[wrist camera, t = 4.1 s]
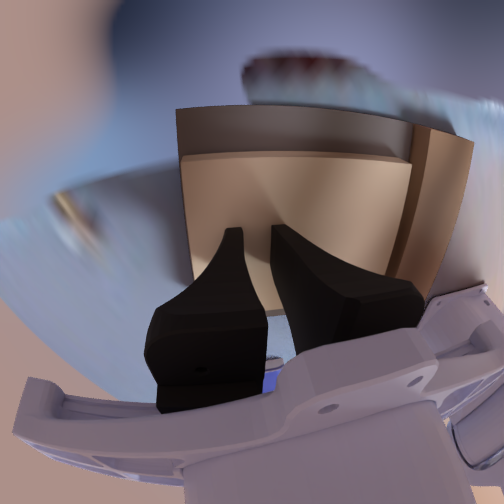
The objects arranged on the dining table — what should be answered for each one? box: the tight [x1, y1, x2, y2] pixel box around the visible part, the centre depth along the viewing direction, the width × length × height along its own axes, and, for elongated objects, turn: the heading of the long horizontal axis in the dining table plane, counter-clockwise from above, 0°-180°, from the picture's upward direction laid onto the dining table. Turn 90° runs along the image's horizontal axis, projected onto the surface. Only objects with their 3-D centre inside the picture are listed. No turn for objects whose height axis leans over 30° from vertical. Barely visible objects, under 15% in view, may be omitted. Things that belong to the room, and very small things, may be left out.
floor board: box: [176, 105, 474, 317], centre depth 13 cm, size 16×12×2 cm
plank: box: [181, 151, 412, 311], centre depth 13 cm, size 10×8×1 cm
